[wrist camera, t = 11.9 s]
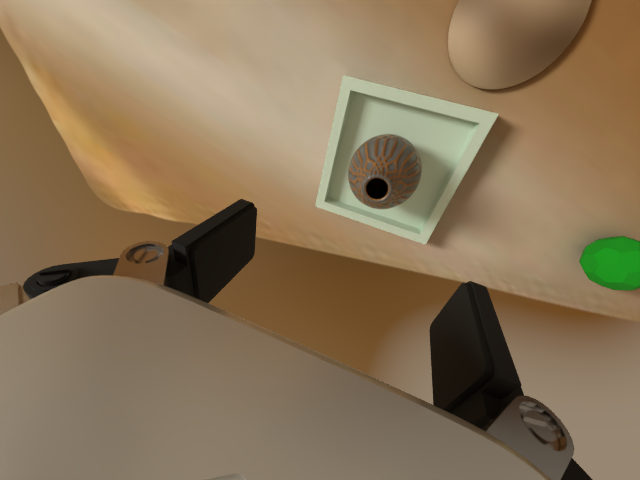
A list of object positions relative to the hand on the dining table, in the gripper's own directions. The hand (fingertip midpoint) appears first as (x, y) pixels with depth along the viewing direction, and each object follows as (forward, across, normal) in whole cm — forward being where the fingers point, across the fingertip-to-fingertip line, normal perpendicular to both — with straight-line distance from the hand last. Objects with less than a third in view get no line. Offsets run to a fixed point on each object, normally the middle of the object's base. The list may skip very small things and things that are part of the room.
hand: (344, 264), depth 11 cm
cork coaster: (+20, -5, -13) cm, 25 cm away
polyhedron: (+20, -23, +2) cm, 31 cm away
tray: (+20, 0, 0) cm, 20 cm away
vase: (+20, 0, 0) cm, 20 cm away
